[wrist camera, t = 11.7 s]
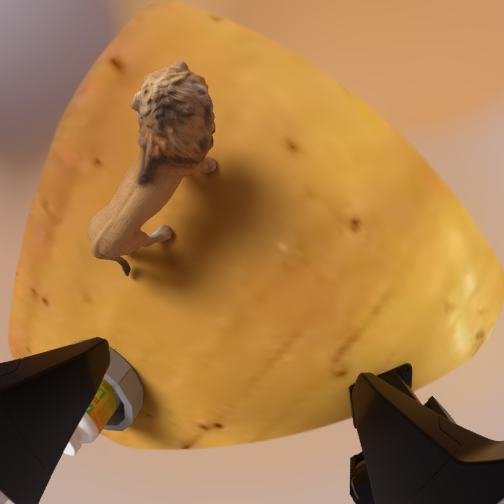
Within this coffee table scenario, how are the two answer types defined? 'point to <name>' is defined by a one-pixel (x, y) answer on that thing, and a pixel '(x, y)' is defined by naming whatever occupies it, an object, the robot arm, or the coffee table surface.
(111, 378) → the grey faceted bowl
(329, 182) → the coffee table surface
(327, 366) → the coffee table surface
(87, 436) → the supplement bottle
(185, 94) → the lion figurine
